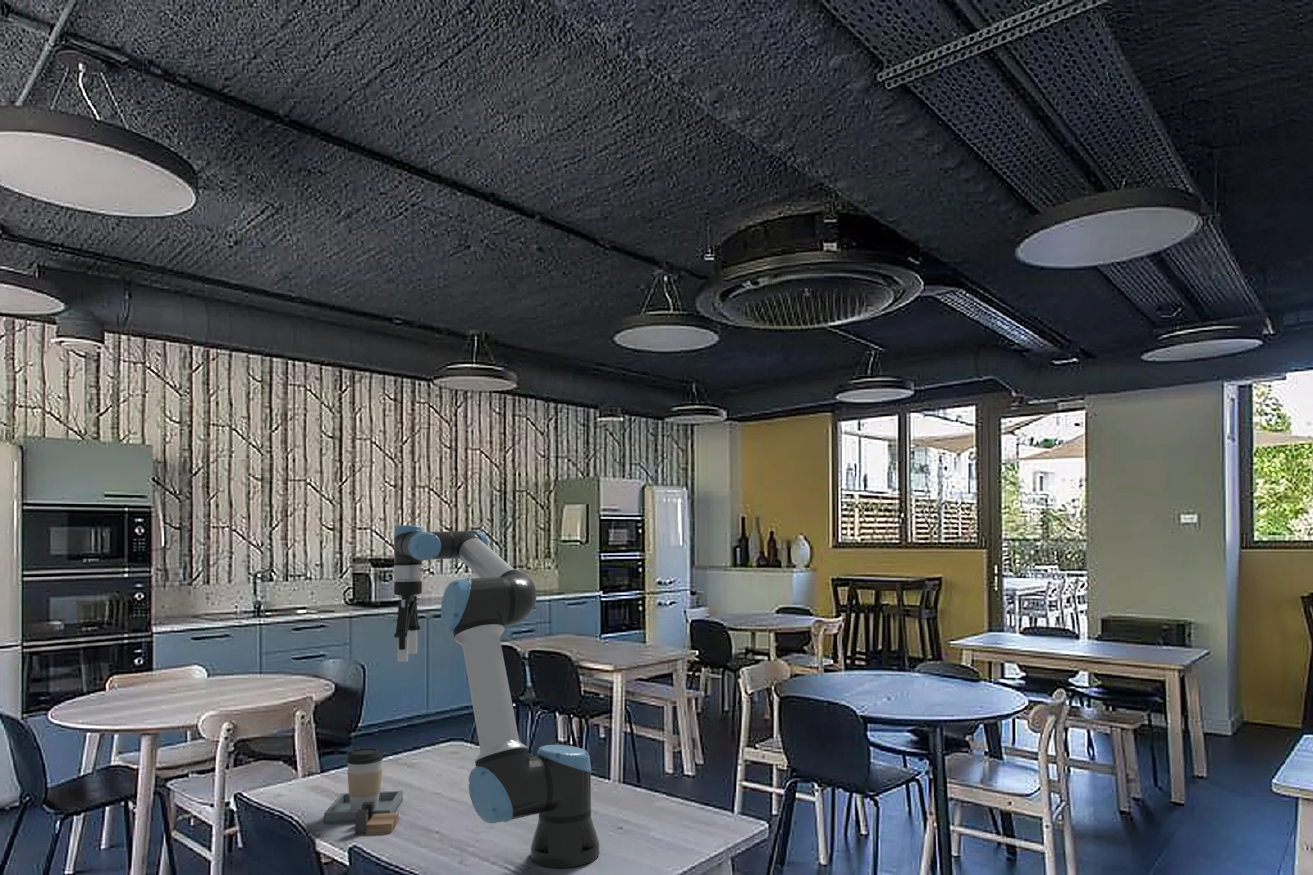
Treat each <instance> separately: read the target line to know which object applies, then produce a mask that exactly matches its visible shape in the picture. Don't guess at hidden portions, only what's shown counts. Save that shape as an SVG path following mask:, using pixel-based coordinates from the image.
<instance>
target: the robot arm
mask: <svg viewBox="0 0 1313 875" xmlns="http://www.w3.org/2000/svg"><path fill="white" fill-rule="evenodd" d="M393 541H394V542H393V544H394V546H393V549H394V550H393V553H394V554H393V556H394V558H393V559H394V560H393V561H394V563H393V564H394V565H393V580H395V581H394V583H393V594H394V596H401V599H399V600H398V602H397V603H398V607H397V608H398V609H397V619H396V629H395V633H394V634H393V636H394V638H397V639H396V640H397V642H396V644H397V648H396V649H397V650H396V652H397V653H396V655H397V656H396V661H397V662H396V663H401V662H402V663H403V662H404V663H405V662H406V663H407V662H409V655H417V654H418V631H420V629H421V626H420V623H419V614H418V600H417V599H418V596H417V595H421V594H422V592H423V582H422V580H420V579H422V574H423V572H424V571H425V569H424V567H423V566H422V565H423V561H430V560H446V559H447V560H451V559H452V560H453V559H454V560H455V559H459V560H460V561H461V562H462V563H464V564H465V565H466V566H467V567H468V568H469V569H470V571H472V572H473V573H474V574H475V575H476V576H477V578H470V577H467V578H464V579H456V580H455V579H454V580H452V581H451V582H449V584H447V586H446V588H445V589H444V592H443V596H442V600H441V605H440V606H441V607H440V619H441V624H442V627H443V630H444V631H447V632H449V633H451V632H453V633H452V634H453V639H454V642H455V643H457V644H459V645H460V646H461V647H462V651H463V656H464V664H465V668H466V669H465V670H466V676H467V679H468V680H467V681H468V687H469V692H470V697H471V704H472V710H473V716H474V720H475V727H476V732H477V733H476V734H477V739H478V744H479V750H480V751H479V754H478V755H477V757H475V758H476V759H474V760H475V761H474V764H475V767H474V768H472V769H471V771H470V773H469V774H468V775H469V776H468V783H469V784H468V793H469V796H470V801H471V804H472V806H473V808H474V811H475V812H476V814H477V815H478V816H479V818H480V819H481V820H482V821H484V822H485V823H487V824H497V823H502V822H503V823H508V822H510V821H512V820H516V819H517V820H518V819H521V818H524V817H529V816H534V815H537V814H538V820H537V821H538V822H537V825H536V827H535V828H536V829H535V832H534V835H533V838H532V841H531V845H530V859H531V861H532V862H533V863H534V864H537V865H539V866H543V867H546V868H553V869H554V868H555V869H557V868H558V869H561V868H562V869H565V868H574V867H573V866H575V867H578V866H577V865H580V866H584V865H586V864H585V863H587V864H589V863H591V862H593V861H595V860H596V859H597V858H598V857H599V856H598V855H600V840H599V837H598V835H597V832H596V831H597V830H596V828H595V825H594V822H593V819H592V800H591V799H592V795H591V794H592V791H591V790H592V781H591V780H592V777H591V775H592V765H591V764H592V763H591V757H590V754H589V753H588V751H587V750H586V749H584V748H580V747H578V746H577V747H576V746H573V745H572V746H571V745H564V744H563V745H562V744H546V745H542V746H540V747H539V748H538V750H537V752H536V753H537V756H533V757H532V756H530V752H529V747H528V746H527V745H525V744H524V743H522V742H521V741H520V738H519V737H520V736H519V732H518V727H517V723H516V722H517V721H516V716H515V710H514V706H513V702H512V696H511V690H510V685H509V680H508V675H507V670H506V665H505V664H506V663H505V660H504V653H503V649H502V648H503V647H502V643H501V636H502V635H503V634H504V632H505V627H506V626H513V625H516V624H519V623H520V622H522V621H524V620H525V619H526V618H527V617H528V616H530V614H531V612H532V611H533V610H534V607H535V606H536V602H537V594H538V593H537V589H536V587H537V586H536V585H535V583H534V581H533V580H532V578H531V577H530V576H529V575H528V574H527V573H525V571H522V570H520V569H517V568H513V567H512V566H511V565H510V564H509V563H508V562H507V561H505V559H503V558H502V557H501V556H499V555H498V553H496V551H494V550H492V548H491V547H489V541H488V537H487V534H486V533H485V532H484V531H481V530H473V529H472V530H471V529H470V530H455V531H450V530H449V531H423V527H422V525H420V524H404V525H403V524H401V525H397V526H395V528H394V536H393ZM597 856H598V857H597ZM596 857H597V858H596ZM595 858H596V859H595ZM594 859H595V860H594ZM590 861H591V862H590ZM588 862H589V863H588ZM583 864H584V865H583Z"/></svg>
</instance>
